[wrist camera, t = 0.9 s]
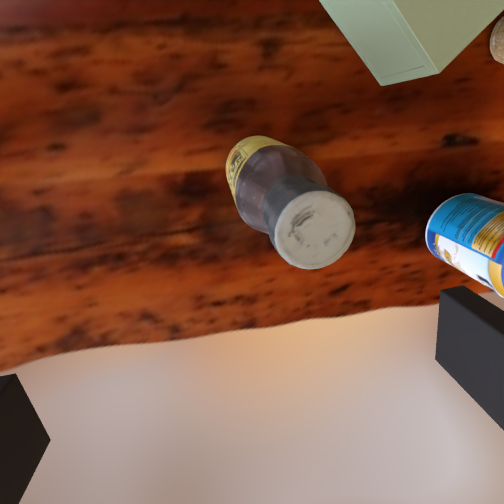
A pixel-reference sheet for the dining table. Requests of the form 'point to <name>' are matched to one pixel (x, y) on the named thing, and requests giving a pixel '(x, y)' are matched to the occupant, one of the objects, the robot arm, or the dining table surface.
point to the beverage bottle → (470, 237)
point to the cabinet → (410, 32)
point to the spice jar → (498, 41)
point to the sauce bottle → (289, 202)
